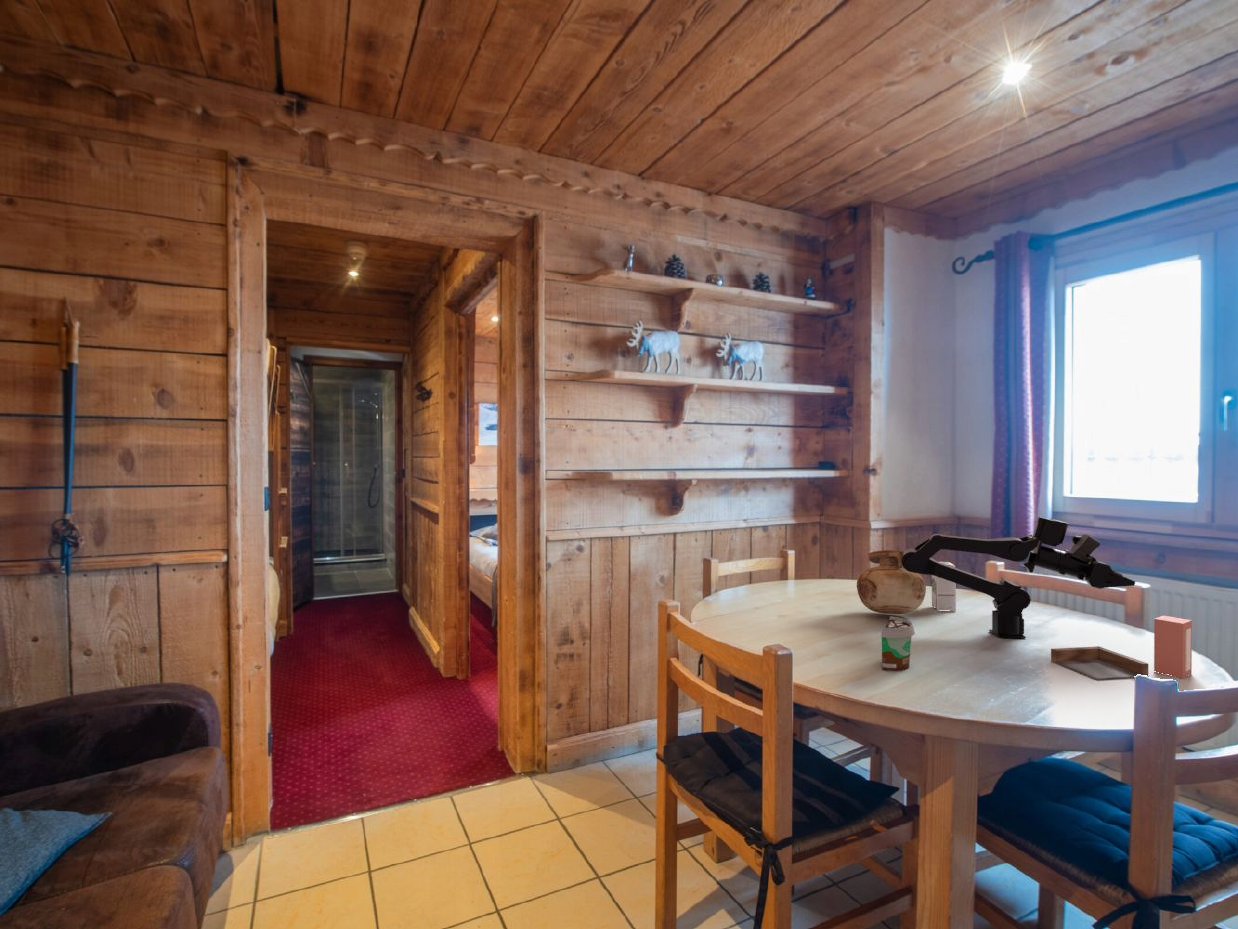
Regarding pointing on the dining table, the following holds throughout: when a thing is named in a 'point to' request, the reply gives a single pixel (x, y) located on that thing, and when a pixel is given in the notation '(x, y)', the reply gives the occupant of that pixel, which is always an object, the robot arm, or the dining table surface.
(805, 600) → the dining table surface
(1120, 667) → the tray
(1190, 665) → the red block
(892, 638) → the food container
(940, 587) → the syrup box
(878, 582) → the clay pot
